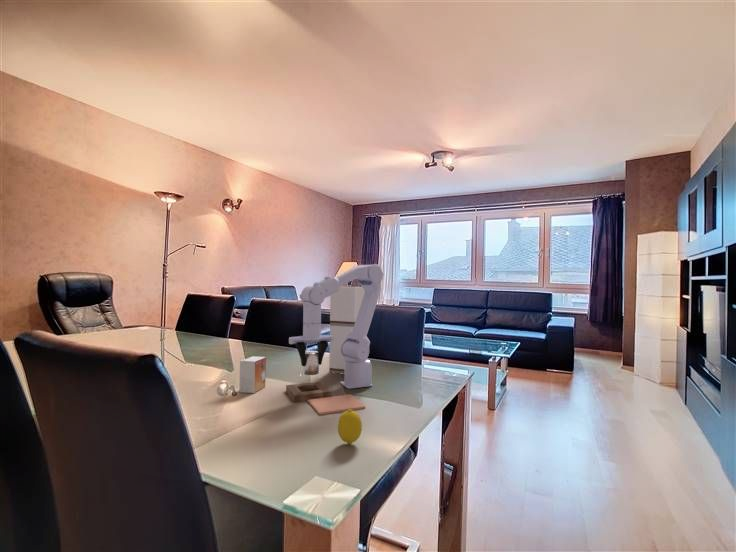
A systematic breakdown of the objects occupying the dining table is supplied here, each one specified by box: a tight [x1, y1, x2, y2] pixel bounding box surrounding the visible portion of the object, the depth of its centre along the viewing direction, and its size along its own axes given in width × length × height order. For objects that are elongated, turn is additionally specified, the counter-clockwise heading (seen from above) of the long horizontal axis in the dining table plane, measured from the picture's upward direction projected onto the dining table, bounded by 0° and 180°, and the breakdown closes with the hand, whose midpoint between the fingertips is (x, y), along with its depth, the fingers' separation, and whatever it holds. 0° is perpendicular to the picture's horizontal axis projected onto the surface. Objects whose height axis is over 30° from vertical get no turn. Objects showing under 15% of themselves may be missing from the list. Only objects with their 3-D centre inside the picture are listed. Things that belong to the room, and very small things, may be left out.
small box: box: [238, 355, 267, 394], centre depth 124 cm, size 8×6×10 cm
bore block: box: [285, 381, 333, 403], centre depth 119 cm, size 12×12×2 cm
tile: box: [307, 394, 366, 416], centre depth 109 cm, size 14×12×1 cm
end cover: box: [303, 351, 320, 376], centre depth 118 cm, size 5×5×6 cm
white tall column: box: [328, 285, 365, 375], centre depth 151 cm, size 11×11×35 cm
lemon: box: [337, 409, 363, 445], centre depth 83 cm, size 6×6×8 cm
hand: (311, 364), depth 118 cm, fingers closed on end cover, 5 cm apart
